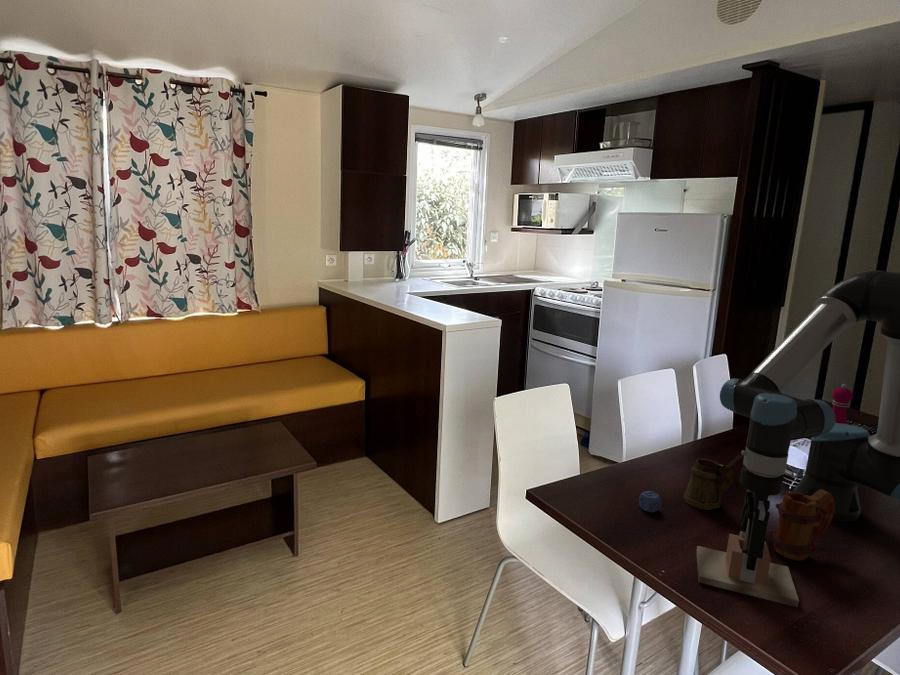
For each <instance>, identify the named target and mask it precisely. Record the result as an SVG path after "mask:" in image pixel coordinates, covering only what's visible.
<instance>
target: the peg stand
mask: <svg viewBox="0 0 900 675" xmlns="http://www.w3.org/2000/svg"><path fill="white" fill-rule="evenodd" d="M748 527H749V518H748V524H747V529H746V535H745V540H744V546H743V549H744V550H746V546H747V536H748ZM725 557H726V551H722V550H716V549H713V548H709V547H704V546H699V545H697V546H696V563H697V577H698V578H697V579H698V580H697V581H698V583H700V584H703V585H706V586H707V585H708V586H712V587H715V588H719V589H724V590H728V591H731V592H735V593H740V594H743V595H746V596H751V597H755V598H758V599H763V600H767V601H771V602H776V603H780V604H782V605H787V606H791V607H795V608H798V607H799V602H800V600H799V596H798V594H797V593H798V592H797V590H796V587H795V584H794V581H793V579H792V578H793V577H792V575H791V572H790V568H789V566H787V565H782V564H778V563H774V562H770V567H769V573H768V578H767V583H766V586H765V585H761V584H757V583H754V584H753V583H749V582H745V581H741V580H740V579H736V578H732V577H728V573H727V566H726V559H725Z"/></svg>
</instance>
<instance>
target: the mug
mask: <svg viewBox="0 0 900 675" xmlns="http://www.w3.org/2000/svg"><path fill="white" fill-rule="evenodd" d="M793 492H794V491H793ZM793 492H791V491H787V492H786V493H784V495H783V497H782V502H780V503H776V504H775V508H776V509H777V512H778V514H779V516H778V523H777V527H776V530H774V531H770V532H769V536H770V538H771V540H772V543H773V549H774V551H775V552H776V553H777V554H779V555H781V556H782V557H784V558H787V559H789V560H792V561H804V560H806V559H807V558H808V557H809V555H810V554H811V553H812V552H815V551H816V550H817V547H816V545H815V544H814V540H813V539H812V537H813V536H815V537H816V538H821V537H822V535H823V534H824V533H825V532H826V530H827V529H828V528H829V526H830V524H831V523H832V521H833V520H832V518H833V515H834V512H835V501H834V498H833V496H832V494H830V493H829V492H827V491H825V490H823V489H820V490H818V491H817V492H816V493H815V494H813V495H812V496H808V495H806V496H805V495H803V494H802V493H799V492H794V493H793ZM816 507H819V509H818V512H817V511H816Z"/></svg>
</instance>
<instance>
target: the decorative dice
mask: <svg viewBox="0 0 900 675" xmlns="http://www.w3.org/2000/svg"><path fill="white" fill-rule="evenodd" d="M661 500H662V499H661V497H660V495H659V494H658V493H656V492H654V491H652V490H651V491H650V490H645V491H643V492H642V493H640V495H639V496H638V505H639V506H640V508H641V510H643V511H645V512H647V513H655V512H657V511H659V510H660V508H661V506H662V501H661Z"/></svg>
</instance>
